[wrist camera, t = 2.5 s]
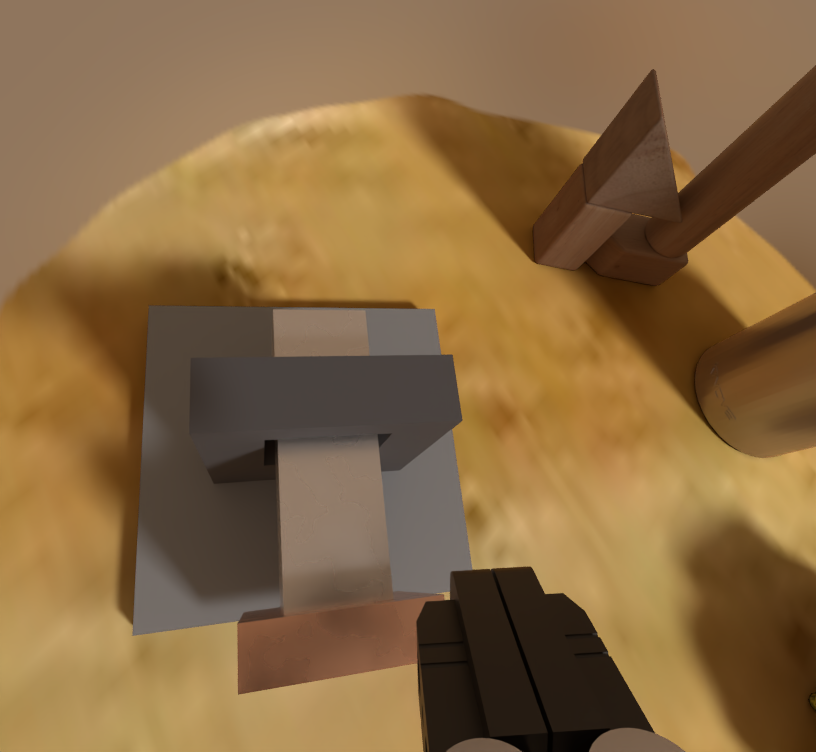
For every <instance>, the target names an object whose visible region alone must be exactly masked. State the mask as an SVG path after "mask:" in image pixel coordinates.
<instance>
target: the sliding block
mask: <svg viewBox="0 0 816 752" xmlns="http://www.w3.org/2000/svg"><path fill="white" fill-rule="evenodd" d="M271 348H272V357H297V356H370V353H369V343H368V333H367V322H366V312H365V310H287V309H273V322H272V346H271ZM275 468H276V498H277V528H278V559H279V589H280V607H277V608H270V609H263V610H255V611H248V612H244V613H243V615H242V616H241V618H240V620H239V622H238V624H237V625H238V694H244V693H249V692H255V691H261V690H266V689H272V688H278V687H284V686H289V685H295V684H301V683H306V682H312V681H318V680H323V679H329V678H335V677H341V676H346V675H352V674H358V673H363V672H369V671H375V670H380V669H386V668H392V667H398V666H403V665H409V664H415V663H417V630H416V621H417V619H418V617H419V615H420V612H421V610H422V608H423V606H424V604H425V602H426V601H441V600H445V599H444V595H443V594H430V593H417V592H404V591H395V592H393V588H392V578H391V567H390V557H389V547H388V537H387V527H386V516H385V506H384V496H383V486H382V475H381V465H380V455H379V445H378V435H377V434H371V435H352V436H333V437H314V438H295V439H276V440H275Z"/></svg>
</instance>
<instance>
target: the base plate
mask: <svg viewBox="0 0 816 752" xmlns="http://www.w3.org/2000/svg"><path fill="white" fill-rule="evenodd" d="M273 309H287V310H365V312H366V322H367V333H368V343H369V353H370V356H381V355H441V350H440V343H439V336H438V330H437V323H436V316H435V309H386V308H306V307H227V306H149V315H148V335H147V355H146V375H145V395H144V415H143V435H142V456H141V476H140V496H139V516H138V536H137V556H136V576H135V597H134V617H133V636H134V635H141V634H149V633H156V632H163V631H170V630H177V629H184V628H192V627H199V626H206V625H213V624H220V623H227V622H234V621H239V620H240V618H241V616H242V615H243V613H244V612H248V611H255V610H263V609H270V608H277V607H280V589H279V559H278V528H277V498H276V479H274V480H261V481H247V482H233V483H219V484H214V483H213V481H212V479H211V477H210V475H209V473H208V471H207V469H206V467H205V465H204V463H203V461H202V459H201V457H200V455H199V453H198V451H197V449H196V447H195V445H194V443H193V441H192V438H191V436H190V434H189V415H190V366H191V358H213V357H272V348H271V346H272V322H273ZM381 475H382V486H383V496H384V506H385V516H386V527H387V537H388V547H389V557H390V567H391V578H392V588H393V592H395V591H404V592H417V593H430V594H435V593H442V592H449V591H450V573H451V571H463V570H472V564H471V557H470V550H469V543H468V536H467V529H466V522H465V516H464V509H463V502H462V495H461V488H460V481H459V474H458V467H457V460H456V454H455V447H454V440H453V433H452V429H451V430H450V431H449V432H447V433H446V434H445V435H444V436H442V437H441V438H440V439H439V440H437V441H436V442H435V443H434V444H432V445H431V446H430V447H429V448H427V449H426V450H425V451H424V452H422V453H421V454H420V455H419V456H417V457H416V458H415V459H414V460H412V461H411V462H410V463H409V464H407V465H406V466H405V467H403V468H402V469H401V470H399V471H385V472H381Z"/></svg>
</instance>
